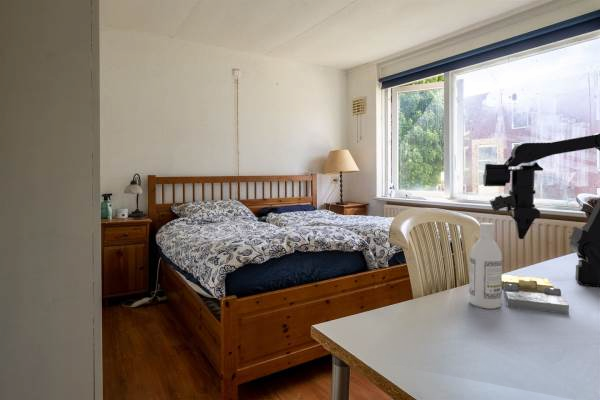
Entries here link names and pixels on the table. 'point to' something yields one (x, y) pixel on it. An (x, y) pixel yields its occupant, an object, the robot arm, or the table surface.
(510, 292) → the fixed leaf
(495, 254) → the bath foam
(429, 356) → the table surface
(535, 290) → the brass hinge plate
